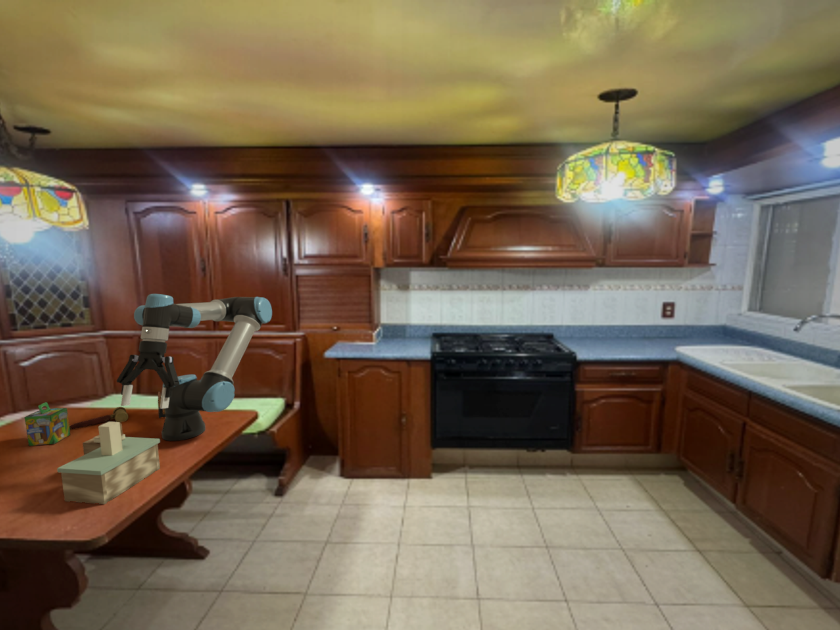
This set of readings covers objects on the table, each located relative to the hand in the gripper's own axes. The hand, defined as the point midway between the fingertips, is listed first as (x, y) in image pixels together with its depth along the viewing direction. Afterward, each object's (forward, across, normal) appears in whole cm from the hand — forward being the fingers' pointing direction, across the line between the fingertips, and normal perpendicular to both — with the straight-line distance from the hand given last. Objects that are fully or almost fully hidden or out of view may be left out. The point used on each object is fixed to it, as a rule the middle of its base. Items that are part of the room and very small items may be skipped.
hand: (144, 406), depth 128 cm
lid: (+16, -4, -4) cm, 17 cm away
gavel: (+14, -54, +40) cm, 69 cm away
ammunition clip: (+10, -29, +52) cm, 60 cm away
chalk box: (+18, -58, +23) cm, 65 cm away
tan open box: (+23, -9, -2) cm, 25 cm away
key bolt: (+12, -12, +2) cm, 17 cm away
